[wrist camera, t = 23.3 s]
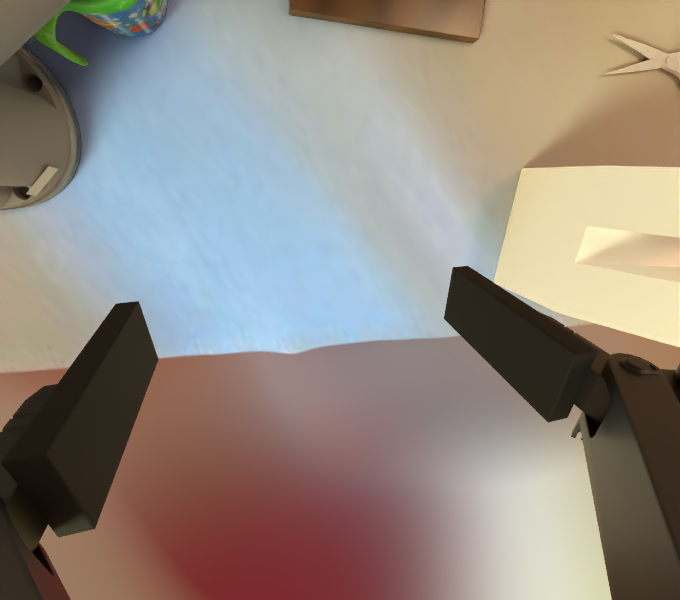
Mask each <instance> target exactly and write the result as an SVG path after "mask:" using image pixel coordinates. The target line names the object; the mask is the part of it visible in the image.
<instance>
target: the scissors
mask: <svg viewBox="0 0 680 600" xmlns="http://www.w3.org/2000/svg"><path fill="white" fill-rule="evenodd" d="M611 35H613V34H611ZM613 36H614V37H616V38H617V39H619V40H621V41H622V42H624V43H625V44H627V45H628V46H630V47H631V48H633V49H635V50H637V51H638V52H640V53H641V54H643V55H644V56H646V57H647V58H649V59H650V60H647V61H644V62H640V63H637V64H634V65H631V66H628V67H625V68H622V69H619V70H616V71H613V72H610V73H607V74H616V73H626V72H636V71H645V70H652V69H659V68H662V69H664V70H666V71H668V72H670V73H672V74H674V75H675V76H677V77H678V78H679V80H680V51H679V52H675V53H671V54H667V53H664V52H662V51H660V50H657V49H655V48H653V47H650V46H648V45H645V44H642V43H639V42H636V41H633V40H630V39H627V38H625V37H622V36H617V35H613ZM603 75H606V74H603Z"/></svg>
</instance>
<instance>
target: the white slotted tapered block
mask: <svg viewBox="0 0 680 600" xmlns="http://www.w3.org/2000/svg"><path fill="white" fill-rule="evenodd" d="M493 283H495V284H497V285H500V286H502V287H504V288H506V289H508V290H510V291H512V292H515V293H517V294H519V295H521V296H523V297H525V298H527V299H530V300H532V301H534V302H536V303H538V304H540V305H542V306H545V307H547V308H549V309H551V310H553V311H555V312H557V313H560V314H564V315H567V316H571V317H574V318H578V319H582V320H585V321H589V322H592V323H596V324H599V325H603V326H606V327H610V328H614V329H617V330H620V331H624V332H628V333H631V334H635V335H639V336H642V337H645V338H649V339H652V340H656V341H660V342H663V343H666V344H670V345H673V346H677V347H680V167H642V166H581V167H550V168H522V170H521V174H520V178H519V182H518V186H517V190H516V194H515V198H514V202H513V206H512V210H511V214H510V218H509V222H508V226H507V230H506V233H505V237H504V241H503V245H502V249H501V253H500V257H499V261H498V265H497V269H496V273H495V277H494V281H493Z"/></svg>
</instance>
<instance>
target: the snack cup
mask: <svg viewBox="0 0 680 600" xmlns="http://www.w3.org/2000/svg"><path fill="white" fill-rule="evenodd" d="M167 3H168V0H71V1H70V2H69V3H68V4H67V5H66V6H65V7H63V8H62V9H61V10H60V11H59V12H58V13H57V14H56V15H55V16H54V17H53V18H52V19H51V20H50V21H48V22H47V23H46V24H45V25H44V26H43V27H42V28H41V29H40V30H39V31H38V32H37V33H36V34H34V35H33V36H34V37H35V38H36V39H37V40H38V41H39V42H41V43H42V44H44V45H45V46H47V47H49V48H51V49H53V50H54V51H55V52H57V53H59V54H61V55H62V56H64V57H65V58H67V59H69V60H71V61H73V62H75V63H77V64H79V65H82V66H88V62H87V61H86V60H85V58H84V57H82V56H81V55H79V54H78V53H76V52H74V51H72V50H70V49H68V48H67V47H65V46H64V45H62V44H61V43H60V42H59V41H57V40H56V33H55V25H56V22H57V19H58V16H59V15H60V14H61V13H62V12H63V11H73V12H77V13H79V14H80V15H82V16H84V17H86V18H87V19H89V20H91V21H93V22H94V23H96V24H98V25H100V26H102V27H104V28H105V29H107V30H109V31H111V32H113V33H118V34H121V35H125V36H130V37H138V36H142V35H146V34H151V33H152V32H154V31H155V30H156V29H157V27H158V26H159V24H160V23H161V22H162V21H163V19H164V18H165V14H166V10H167Z"/></svg>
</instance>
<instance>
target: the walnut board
mask: <svg viewBox="0 0 680 600" xmlns="http://www.w3.org/2000/svg"><path fill="white" fill-rule="evenodd" d="M484 4H485V0H289V15H294V16H300V17H307V18H313V19H320V20H326V21H333V22H339V23H346V24H352V25H359V26H365V27H371V28H378V29H384V30H391V31H397V32H404V33H410V34H417V35H423V36H430V37H436V38H443V39H449V40H456V41H462V42H468V43H474V42H475V41H477V40H478V39H479V36H480V29H481V23H482V17H483V11H484Z"/></svg>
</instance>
